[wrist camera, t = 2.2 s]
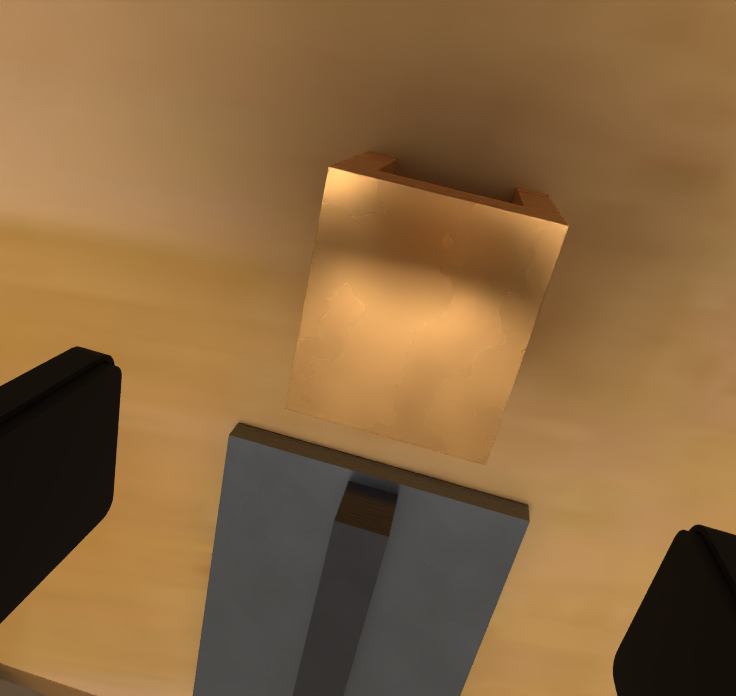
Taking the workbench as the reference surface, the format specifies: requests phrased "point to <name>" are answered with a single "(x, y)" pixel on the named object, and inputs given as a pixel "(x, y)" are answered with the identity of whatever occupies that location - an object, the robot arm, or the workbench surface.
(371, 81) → the workbench surface
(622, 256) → the workbench surface
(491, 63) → the workbench surface
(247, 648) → the rail
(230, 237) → the workbench surface
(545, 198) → the tan wooden block
